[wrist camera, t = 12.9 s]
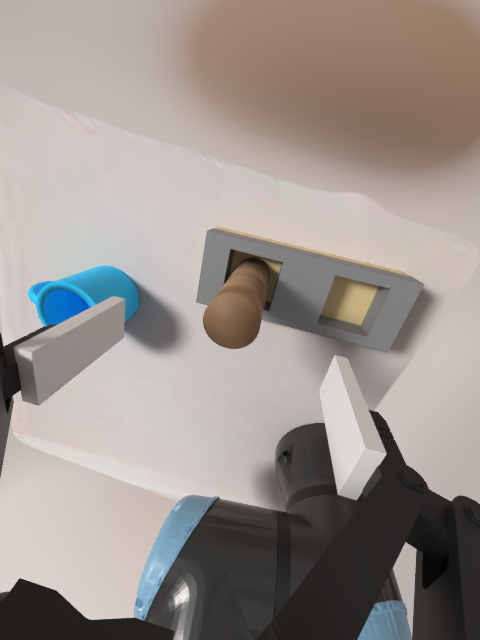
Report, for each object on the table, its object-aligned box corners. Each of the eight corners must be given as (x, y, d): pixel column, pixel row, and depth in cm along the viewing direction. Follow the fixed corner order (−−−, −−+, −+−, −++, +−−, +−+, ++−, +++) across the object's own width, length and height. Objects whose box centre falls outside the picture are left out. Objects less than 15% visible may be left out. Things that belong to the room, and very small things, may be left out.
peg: (274, 285, 31) (266, 342, 19) (242, 294, 32) (214, 353, 20) (265, 252, 30) (250, 289, 17) (232, 262, 31) (194, 304, 18)
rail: (403, 272, 30) (424, 284, 26) (374, 332, 34) (387, 352, 29) (218, 226, 31) (207, 230, 27) (207, 289, 35) (196, 302, 30)
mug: (141, 275, 36) (103, 294, 28) (137, 327, 39) (102, 356, 32) (58, 250, 36) (0, 262, 29) (61, 304, 40) (9, 327, 32)
